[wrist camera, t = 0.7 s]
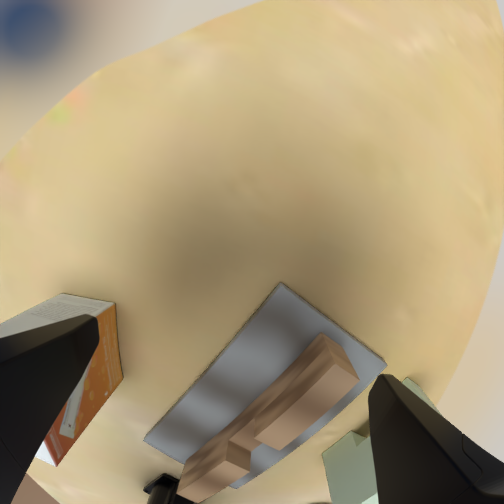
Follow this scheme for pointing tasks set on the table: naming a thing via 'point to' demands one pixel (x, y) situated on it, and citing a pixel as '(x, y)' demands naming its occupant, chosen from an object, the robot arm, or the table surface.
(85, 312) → the small box
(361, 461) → the green plate
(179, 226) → the table surface
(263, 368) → the slotted base
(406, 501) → the robot arm
